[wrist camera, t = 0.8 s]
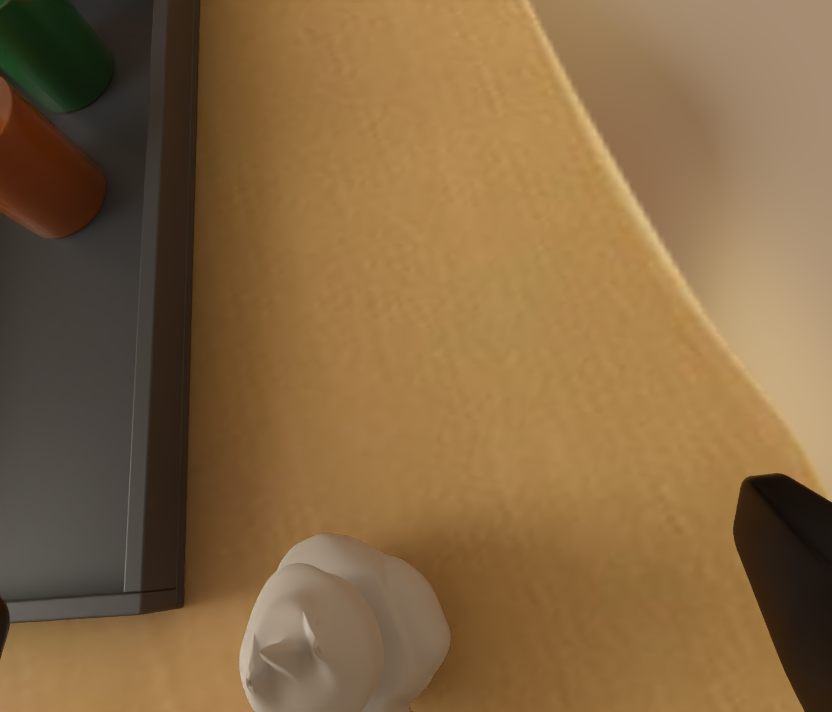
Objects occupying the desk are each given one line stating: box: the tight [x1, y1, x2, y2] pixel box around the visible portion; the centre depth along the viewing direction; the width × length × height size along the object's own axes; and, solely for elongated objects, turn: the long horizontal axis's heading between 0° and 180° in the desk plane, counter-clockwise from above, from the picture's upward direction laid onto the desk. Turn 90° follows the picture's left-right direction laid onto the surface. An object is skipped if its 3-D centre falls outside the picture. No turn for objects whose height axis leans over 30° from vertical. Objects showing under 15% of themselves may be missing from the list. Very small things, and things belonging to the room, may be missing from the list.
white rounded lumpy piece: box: [239, 533, 451, 712], centre depth 16 cm, size 5×7×8 cm
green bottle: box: [0, 0, 114, 113], centre depth 24 cm, size 4×4×7 cm
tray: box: [0, 0, 200, 623], centre depth 24 cm, size 25×10×2 cm, turn 4°
